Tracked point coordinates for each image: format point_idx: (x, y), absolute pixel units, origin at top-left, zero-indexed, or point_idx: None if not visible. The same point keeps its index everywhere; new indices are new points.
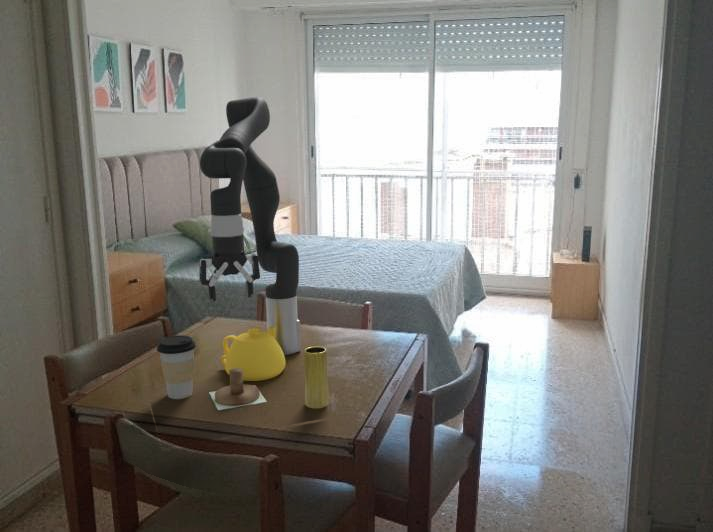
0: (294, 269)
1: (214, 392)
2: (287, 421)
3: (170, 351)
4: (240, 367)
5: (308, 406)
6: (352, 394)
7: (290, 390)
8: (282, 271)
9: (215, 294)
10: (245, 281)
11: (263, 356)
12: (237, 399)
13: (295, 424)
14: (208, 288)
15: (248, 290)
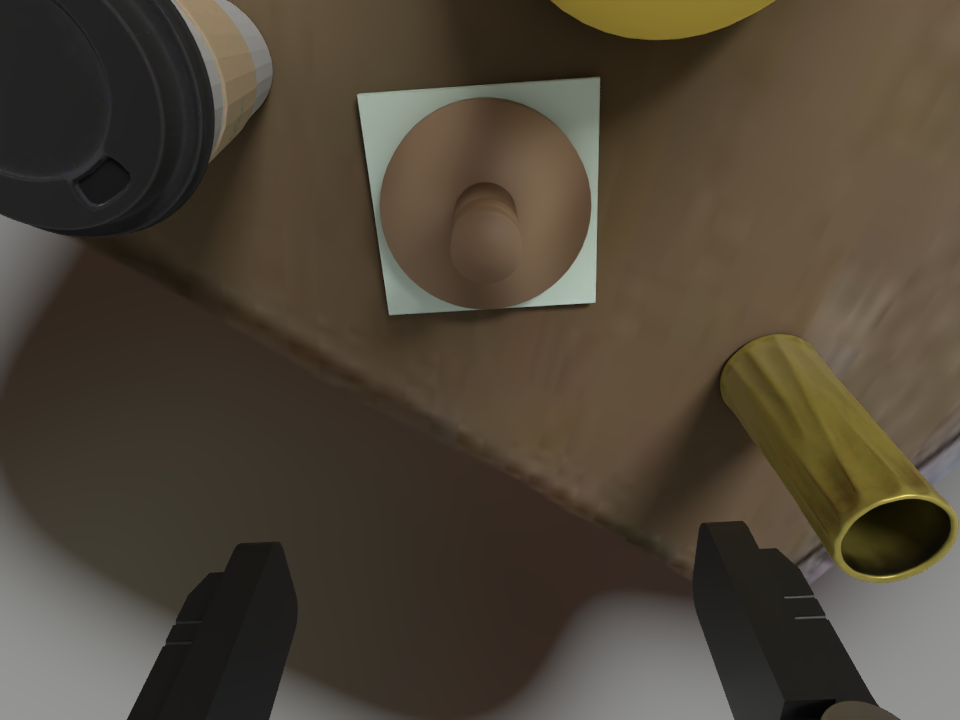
0: None
1: (384, 107)
2: (616, 457)
3: (43, 228)
4: None
5: (726, 404)
6: (950, 325)
7: (741, 187)
8: None
9: (275, 694)
10: (783, 697)
11: (716, 6)
12: (474, 292)
13: (633, 483)
14: (145, 715)
15: (728, 681)
